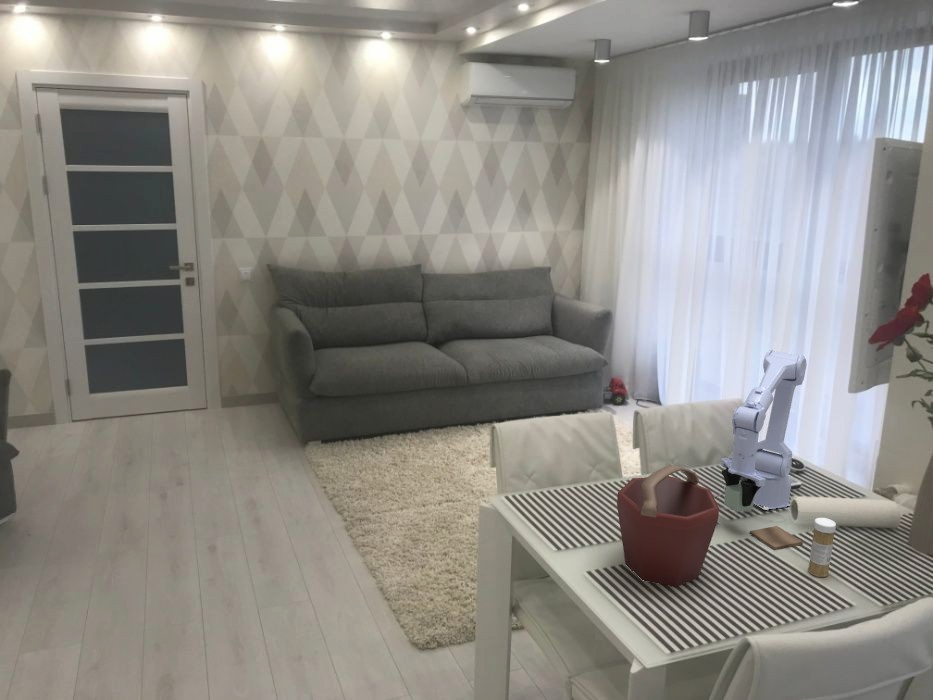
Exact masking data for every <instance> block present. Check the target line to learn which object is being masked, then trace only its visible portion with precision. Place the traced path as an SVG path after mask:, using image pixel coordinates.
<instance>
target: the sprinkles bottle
mask: <svg viewBox="0 0 933 700" xmlns="http://www.w3.org/2000/svg"><path fill="white" fill-rule="evenodd" d="M836 528H837V523H836V522H835V521H834V520H832V519H829V518H828V517H816V518H815V519H814V522H813V535H812V536H813V537H812V542H811V547H810V553H809V554H810V555H809V563H808V568H807V571H808V572H809V574H811V576H814V577H816V578H817V577H818V578H827V577H828V576H829V574H830V572H829V571H830V564H831V559H832V553H833V547H834V538H835V537H834V536H835V532H836Z"/></svg>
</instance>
